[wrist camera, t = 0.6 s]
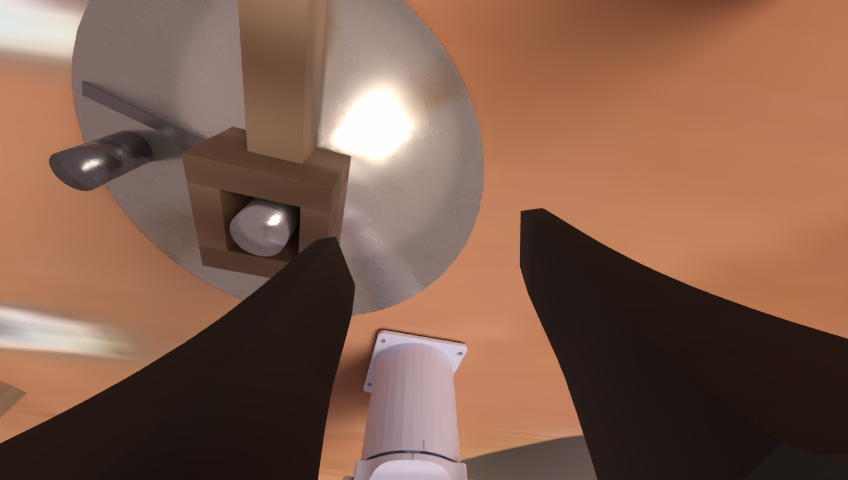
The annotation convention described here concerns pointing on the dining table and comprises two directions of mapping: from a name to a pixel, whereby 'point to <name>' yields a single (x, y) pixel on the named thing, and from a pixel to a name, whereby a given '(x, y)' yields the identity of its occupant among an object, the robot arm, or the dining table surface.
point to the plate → (337, 130)
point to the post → (264, 226)
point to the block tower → (8, 397)
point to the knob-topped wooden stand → (270, 141)
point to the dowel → (101, 160)
